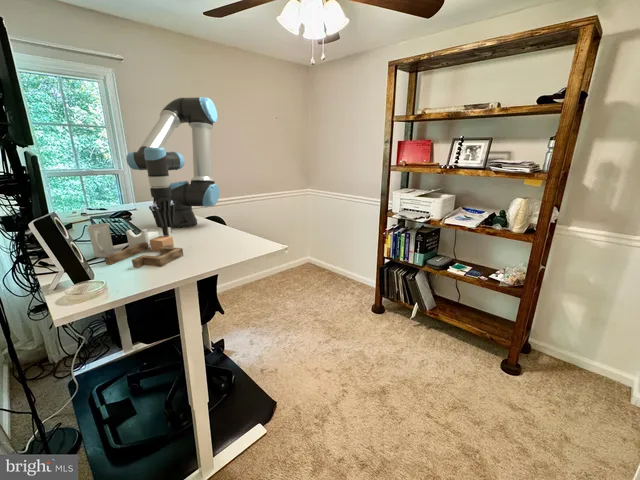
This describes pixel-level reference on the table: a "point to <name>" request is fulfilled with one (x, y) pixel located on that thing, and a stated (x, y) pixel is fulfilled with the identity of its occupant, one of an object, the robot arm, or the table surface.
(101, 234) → the mug
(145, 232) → the bracket
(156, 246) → the block
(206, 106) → the robot arm
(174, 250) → the brown wooden puzzle piece
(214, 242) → the table surface
